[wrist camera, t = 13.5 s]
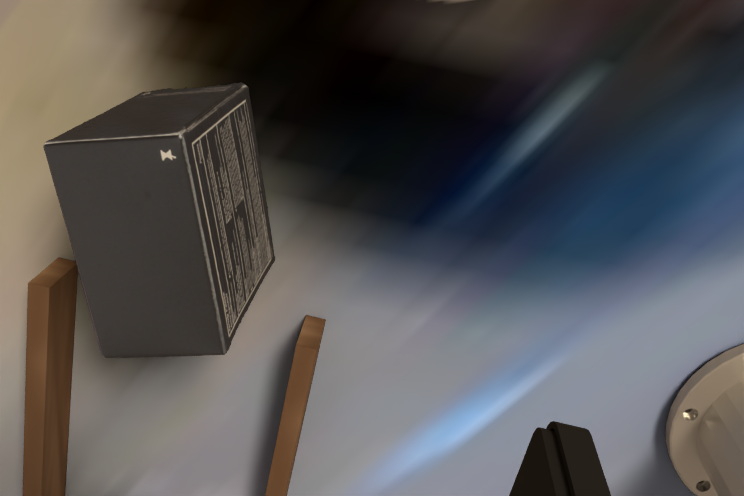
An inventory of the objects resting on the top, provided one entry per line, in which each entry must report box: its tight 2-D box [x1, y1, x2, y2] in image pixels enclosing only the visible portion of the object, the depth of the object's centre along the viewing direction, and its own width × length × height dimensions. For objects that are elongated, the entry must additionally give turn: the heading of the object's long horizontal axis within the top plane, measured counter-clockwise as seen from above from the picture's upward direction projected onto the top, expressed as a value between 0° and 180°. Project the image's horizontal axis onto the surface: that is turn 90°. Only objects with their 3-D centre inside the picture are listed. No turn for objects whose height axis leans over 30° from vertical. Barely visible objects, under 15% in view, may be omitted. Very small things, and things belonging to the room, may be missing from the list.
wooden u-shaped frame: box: [23, 258, 326, 496], centre depth 45 cm, size 16×20×4 cm
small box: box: [44, 83, 275, 358], centre depth 35 cm, size 11×6×10 cm, turn 5°
